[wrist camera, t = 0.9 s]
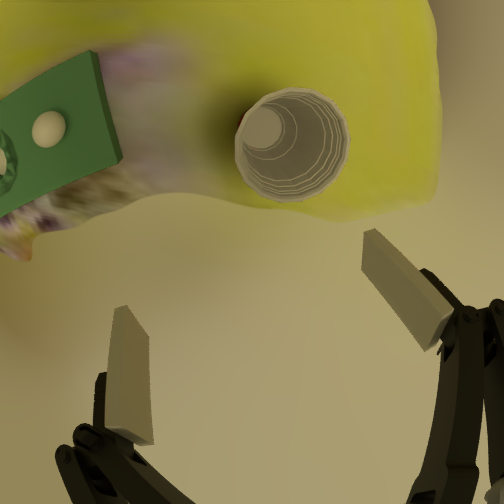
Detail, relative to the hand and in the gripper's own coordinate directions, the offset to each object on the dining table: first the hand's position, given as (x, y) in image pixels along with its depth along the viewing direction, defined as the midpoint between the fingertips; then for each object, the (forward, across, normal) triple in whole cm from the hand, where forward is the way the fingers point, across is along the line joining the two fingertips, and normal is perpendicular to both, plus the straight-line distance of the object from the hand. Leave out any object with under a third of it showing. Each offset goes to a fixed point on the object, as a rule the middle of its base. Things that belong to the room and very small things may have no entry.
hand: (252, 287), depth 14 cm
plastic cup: (+23, +7, +2) cm, 25 cm away
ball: (+18, -15, +12) cm, 26 cm away
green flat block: (+23, -20, +12) cm, 33 cm away
